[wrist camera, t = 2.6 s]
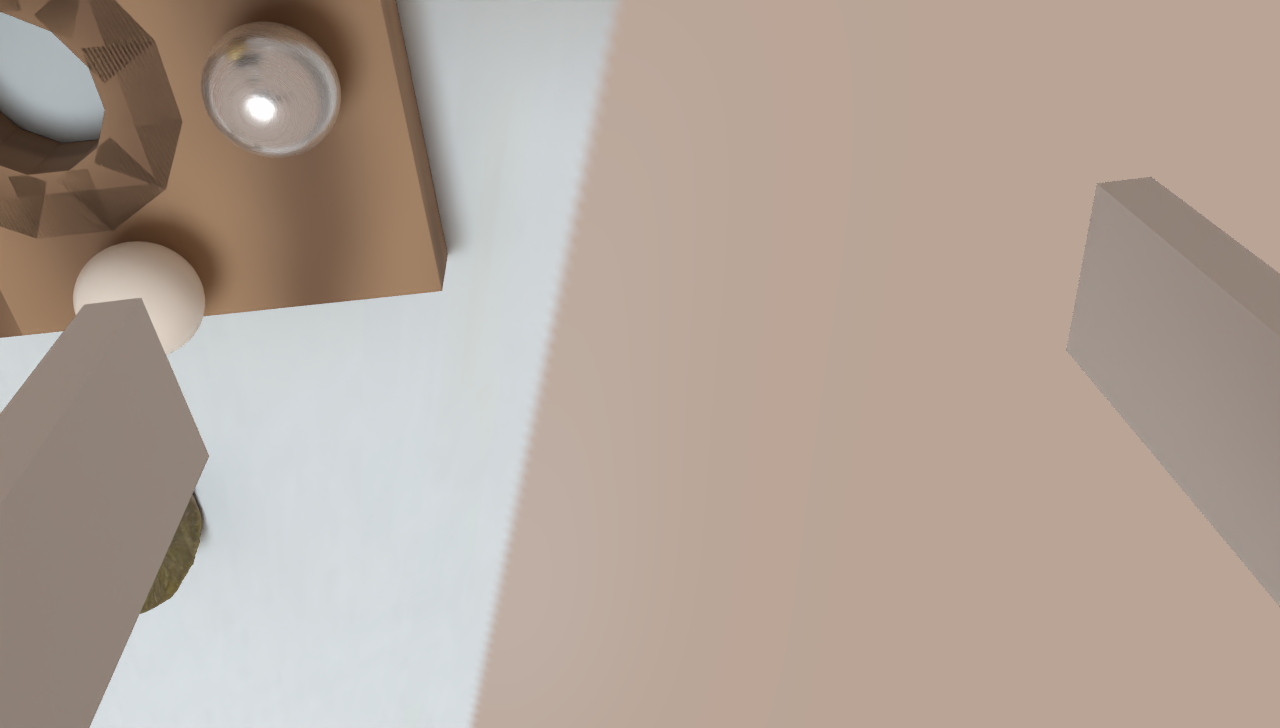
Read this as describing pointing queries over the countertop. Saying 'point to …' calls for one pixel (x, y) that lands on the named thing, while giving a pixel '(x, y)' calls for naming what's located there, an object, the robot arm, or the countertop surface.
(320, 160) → the board
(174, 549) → the lime
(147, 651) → the countertop surface
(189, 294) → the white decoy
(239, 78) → the steel ball
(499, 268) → the countertop surface
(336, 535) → the countertop surface
